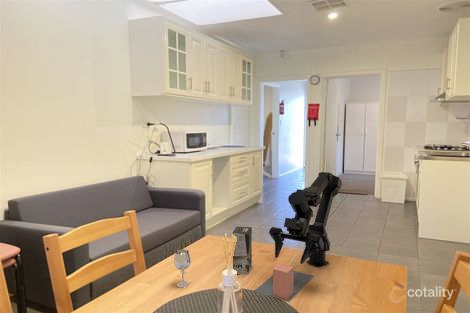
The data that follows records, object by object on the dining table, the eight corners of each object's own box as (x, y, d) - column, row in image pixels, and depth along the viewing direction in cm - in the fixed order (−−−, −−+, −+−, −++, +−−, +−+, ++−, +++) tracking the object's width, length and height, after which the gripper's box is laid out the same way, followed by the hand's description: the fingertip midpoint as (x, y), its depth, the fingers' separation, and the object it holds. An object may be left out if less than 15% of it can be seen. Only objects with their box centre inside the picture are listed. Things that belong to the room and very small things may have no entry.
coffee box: (248, 276, 127) (248, 233, 125) (231, 274, 128) (231, 232, 126) (252, 266, 135) (252, 226, 134) (236, 264, 137) (236, 225, 135)
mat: (282, 268, 132) (282, 267, 132) (314, 277, 125) (314, 275, 125) (253, 292, 114) (253, 291, 114) (288, 303, 107) (288, 301, 107)
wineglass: (193, 282, 122) (193, 249, 121) (186, 289, 116) (185, 255, 115) (179, 279, 124) (178, 248, 123) (171, 287, 118) (170, 253, 117)
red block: (279, 289, 115) (279, 263, 114) (293, 293, 112) (293, 267, 112) (272, 295, 111) (273, 268, 110) (286, 299, 108) (287, 272, 108)
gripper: (271, 204, 122) (255, 243, 114) (321, 211, 112) (308, 255, 103) (280, 221, 129) (266, 258, 121) (329, 229, 119) (317, 270, 111)
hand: (288, 260), depth 114 cm, fingers open, 9 cm apart
